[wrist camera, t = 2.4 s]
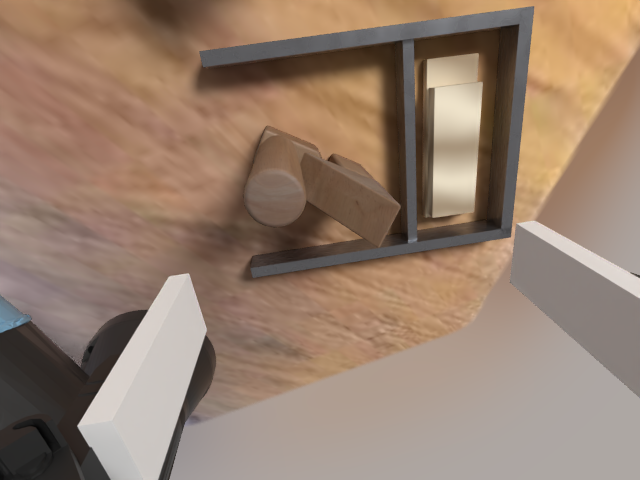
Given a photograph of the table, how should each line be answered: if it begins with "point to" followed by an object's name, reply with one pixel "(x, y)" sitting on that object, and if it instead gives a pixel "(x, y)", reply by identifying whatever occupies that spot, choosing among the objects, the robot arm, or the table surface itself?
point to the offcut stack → (450, 134)
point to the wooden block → (315, 188)
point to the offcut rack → (504, 143)
